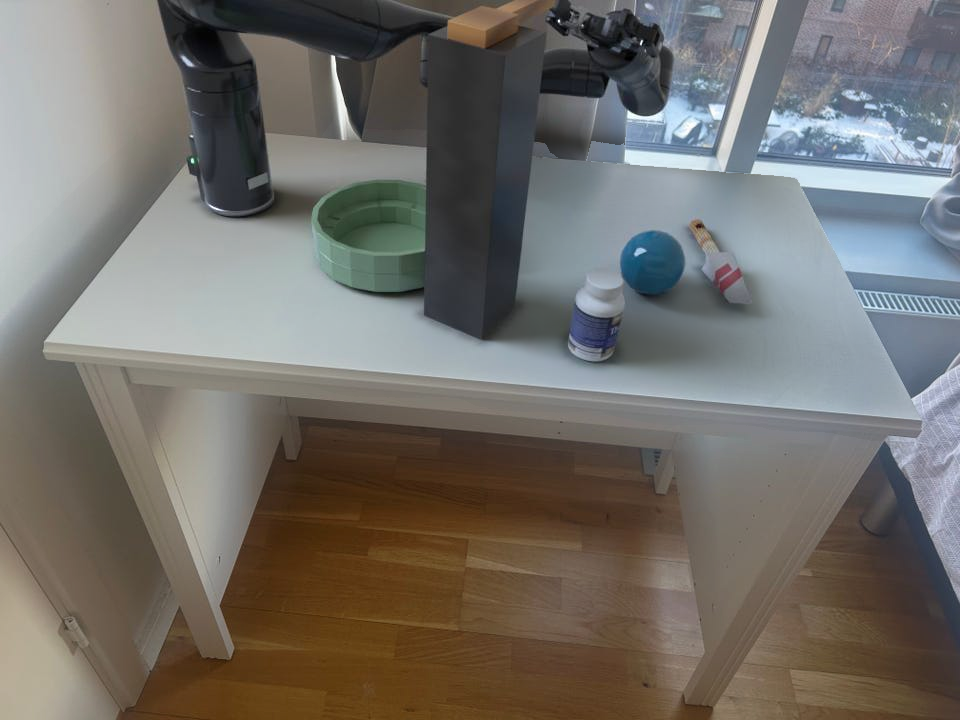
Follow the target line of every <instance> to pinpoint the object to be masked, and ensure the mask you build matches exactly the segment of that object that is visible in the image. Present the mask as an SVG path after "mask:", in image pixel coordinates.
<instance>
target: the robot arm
mask: <svg viewBox="0 0 960 720" xmlns="http://www.w3.org/2000/svg"><path fill="white" fill-rule="evenodd" d="M156 3H157V7H158V11H159V15H160V19H161V23H162V27H163V32H164V35H165V39H166V43H167V47H168V50H169V52H170V55H171V57H172V59H173V60H174V62H175V64H176V66H177V68H178V71H179V75H180V80H181V85H182V89H183V94H184V99H185V105H186V108H187V114H188V118H189V123H190V128H191V133H190V134H189V135H188V142H189V147H190V152H191V155H189V156H187V157H186V163H187V169H188V173H189V175H191V176H194V177H195V178H196V179H197V180H196V181H197V185H198V186H197V187H198V191H199V196H200V200H203V201H204V202H205V206H206V208H207V209H208V210H209V211H211V212H213V213H215V214H217V215H221V216H225V217H247V216H252V215H256V214H258V213H262V212H263V211H265V210H267V209H268V208H270V207H271V206H273V204H274V203H275V191H274V189H273V182H272V173H271V165H270V159H269V158H270V157H269V150H268V142H267V136H266V129H265V121H264V114H263V106H262V100H261V99H262V98H261V91H260V85H259V77H258V70H257V63H256V59H255V57H254V54H253V53H252V51H251V50H250V49H249V47H248V46H247V45H246V43H245V42H244V40H243V39H242V37H241V35H240V34H247V35H255V36H256V35H257V36H265V37H273V38H279V39H283V40H287V41H289V42H292V43H295V44H298V45H300V46H302V47H305V48H308V49H311V50H313V51H316V52H319V53H323V54H327V55H329V56H333V57H336V58H341V59H346V60H349V61H355V62H359V63H367V62H371V61H375V60H377V59H379V58H382V57H384V56H385V55H387V54H388V53H390V52H392V51H393V50H395V49H396V48H398V47H399V46H400V45H402V44H403V43H405V42H406V41H408V40H410V39H413V38H415V37H418V36H421V50H420V64H419V83H420V85H421V86H422V87H424V88H425V89H427V90H428V34H430V33H433V32H435V31H437V30H439V29H442V28H444V27H446V26H448V20H450V19H453V18H455V17H456V16H455V17H454V16H451V15H446V14H442V13H439V12H434V11H430V10H426V9H421V8H417V7H413V6H410V5H406V4H403V3H401V2H398V1H395V0H156ZM585 16H589V17H586V18H585ZM545 22H546V23H547V24H548V25H550V26H551V28H552V29H554V30H555V31H556V32H557V33H558V34H560V35H561V36H563V37H569V35H570V36H573V37H575V38H577V39H580V40H581V41H584V42H585V44H586V48H576V47H555V48H550V49H547V50H544V59H543V67H542V76H541V85H540V93H539V95H558V96H567V97H576V98H577V97H578V98H586V99H601V98H603V97H604V96H605V95H606V94H607V92H608V89H609V86H610V83H611V80H612V81H613V82H615V83H616V89H617V93H618V97H619V100H620V103H621V105H622V106H623V107H624V109H626V110H627V111H628V112H630V113H631V114H633V115H635V116H639V117H652V116H655V115H657V114H659V113H661V112H662V111H663V110H664V109H665V108H666V106H667V104H668V102H669V97H670V91H671V85H672V84H671V83H672V76H673V72H674V64H675V54H674V53H673V51H672V50H671V49H670V48H669V47H667V46H666V45H664V41H665V38H666V37H665V35H664V33H663V31H662V29H661V27H660V25H659V24H658V23H656V22H650V23H649V24H648V25H645V24H644V23H645V20H643V19H642V18H640V17H637V15H635V14H634V13H633V11H632V10H631V9H630V8H626V7H623V9H622V10H621V9H620V10H613V11H609V12H607V13H604V12H597V11H595V10H594V9H591V8H589V7H588V6H585V5H584V6H583V5H582V6H576V5H574V4H572V3H571V1H569V0H555V6H554V7H552V8H550V9H548V12H547V15H546V18H545Z"/></svg>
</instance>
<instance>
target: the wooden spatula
mask: <svg viewBox="0 0 960 720" xmlns="http://www.w3.org/2000/svg"><path fill="white" fill-rule="evenodd" d="M554 6H555V0H512V1H510V2H508V3H505V4H504V5H501V6H499V7H497V8H494V7H488V6H486V5H481V6H478V7H476V8H474V9H472V10H469V11H467V12H464V13H462V14H460V15H457V16H455V18H453V19H450V20H448V30H447V39H450V40H454V41H457V42H461V43H465V44H469V45H472V46H476V47H480V48H484V49H486V48H488V47H490V46H492V45H494V44H496V43H498V42H500V41H502V40H504V39H506V38H507V37H509V36H511V35H513V34H515V33H517V32H518V25H520V24H523V23H524V22H526V21H528V20H530V19H532V18H534V17H536V16H539V15H540V14H542V13H544V12H546V11H549V9H550V8H552V7H554Z"/></svg>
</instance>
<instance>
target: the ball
mask: <svg viewBox="0 0 960 720" xmlns="http://www.w3.org/2000/svg"><path fill="white" fill-rule="evenodd" d="M620 253H621V254H620V257H619V267H620V273H621V274H620V275H621V276H622V278H623V281H625V282H626V284H627V286H629V288H631V289H633V290H634V291H636V292H638V293H639V294H643V295H647V296H648V295H650V296H654V295H660V294H663V293H666V292H668V291H669V290H671V289H673V288H674V287H675V286H676V285H677V284H678V282H679V281H681V280H680V279H681V278H682V277H683V274H684V272H685V269H686V256H685V252H684V249H683V246H682V245H681V243H680V241H678V240H677V239H676V237H674V236H673V235H672V234H670V233H668V232H665V231H662V230H657V229H650V230H645V231H642V232H640V233H637V234H636V235H633V236H631V238H630V239H629V240H628V241H627V242H626V244H625V245H624V247H623V249H622V250H621V252H620Z"/></svg>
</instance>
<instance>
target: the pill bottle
mask: <svg viewBox="0 0 960 720" xmlns="http://www.w3.org/2000/svg"><path fill="white" fill-rule="evenodd" d="M623 286H624V278H623V276H622V274H620V273H619V272H617V271H616V270H614V269H611V268H608V267H607V268H606V267H595V268H591V269H590V270H589V271H587V273H586V274H585V278H584V281H583V286H581V287H580V288H579V289H578V290H577V292H576V295H575V298H574V305H573V311H572V317H571V321H570V327H569V333H568V339H567V346H568V350H569V351H570V352H571V353H572V354H573V355H574V356H575V357H577V358H579V359H581V360H584V361H587V362H602V361H606V360H607V359H609V358H610V357H611V356H612V355H613V353H614V350H615V347H616V343H617V339H618V335H619V331H620V327H621V322H622V318H623V314H624V311H625V306H626V301H625V297H624V295H623V291H622V290H623Z"/></svg>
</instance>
